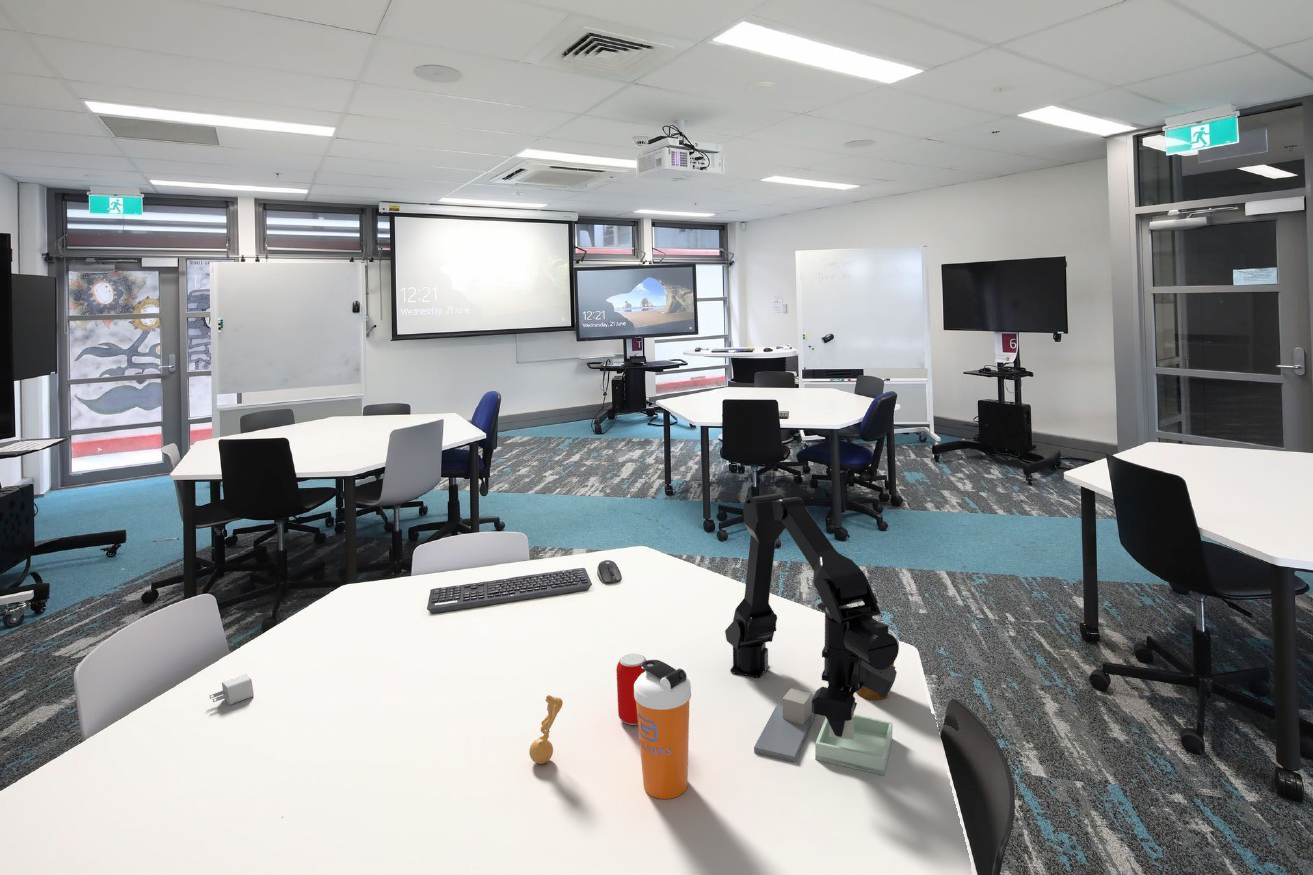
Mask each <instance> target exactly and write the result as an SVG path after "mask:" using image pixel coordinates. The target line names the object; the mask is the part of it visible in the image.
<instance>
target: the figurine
mask: <svg viewBox="0 0 1313 875" xmlns="http://www.w3.org/2000/svg"><path fill="white" fill-rule="evenodd" d="M545 698H546V699H545V702H546V703H547V708H546V711H547V713H548V714H547V716H545V717H544V718H543V719H542V721H541V723H540V724H541V727H540V732H541V733H542V734H543V735H542V736H540V737H539V738H537V739H535V740H534V741H533V742H532V743H531V745H530V746H529V750H528V751H529V754H528V755H529V757H530V759H531V760H532V762H533V763H535V764H540V765H542V764H546V763H547V762H549V761H550V759H551V758H552V756H553V753H554V746H553V743H552V742H551V741H550V740H549V737H550V730H551V728H552V726H553V724H554V721H555V720H556V717H557V715H558V714H559V713H560V710H561V709H562V707H563V699H562V698H561V697H558V696H553V695H550V694H549V695H548V694H547V695H546V697H545Z"/></svg>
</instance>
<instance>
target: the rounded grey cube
mask: <svg viewBox="0 0 1313 875" xmlns="http://www.w3.org/2000/svg"><path fill="white" fill-rule="evenodd" d="M854 715H855V713H854V714H853V717H852V720H849V721H845V725H844V730H843V734H842V737H838V736H835V734H834V732H833V730H832V728H831V726H830V724H829V737H835V738H844V739H852V740H854Z"/></svg>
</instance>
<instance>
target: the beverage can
mask: <svg viewBox="0 0 1313 875" xmlns="http://www.w3.org/2000/svg"><path fill="white" fill-rule="evenodd" d="M645 661H647V659H646V657H645V656H644V655H643V654H640V653H628V654H624V655H623V656H622V657H621V658H620V659H619V660H618V663H617V664H616V667H615V668H616V670H615V672H616V688H617V694H616V695H617V714H618V715H617V716H618V717H619V719H620V721H622V722H623V723H624V724H627V725H631V726H632V725H633V726H638V717H637V706H636V700H635V698H634V683H635V681H636V680H637V679H638V677H639V676H640V675H641V674H642V673H644V672H645V670H643V669H642V667H641V666H642V663H643V662H645Z"/></svg>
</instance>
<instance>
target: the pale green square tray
mask: <svg viewBox="0 0 1313 875" xmlns="http://www.w3.org/2000/svg"><path fill="white" fill-rule="evenodd" d="M893 723H894V722H892V721H887V720H882V719H877V718H872V717H868V716H863V715H859V714H858V715H857V714H854V740H852V739H844V738H835V737H829V722H828V720H827V718H826V717H825V718H824V720H823V723H822V726H821V729H820V731H819V734H818V736H817V738H816V741H815V746H814V747H815V749H814V750H815V753H814V756H815V757H814V758H815V760H816V761H820V762H825V763H829V764H833V765H836V766H837V765H838V766H842V767H846V768H851V769H854V770H858V771H863V772H868V773H872V774H876V775H881V776H885V772H886V767H887V763H888V760H889V754H890V749H891V746H892V740H893V727H894V724H893Z"/></svg>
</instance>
